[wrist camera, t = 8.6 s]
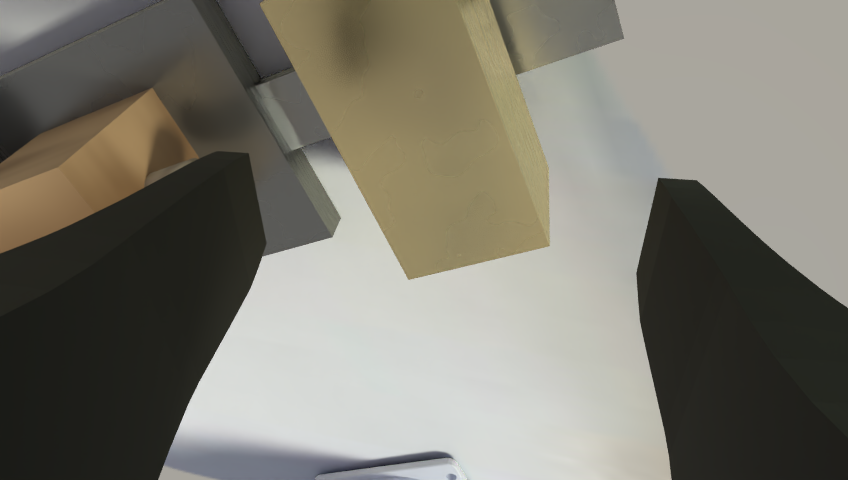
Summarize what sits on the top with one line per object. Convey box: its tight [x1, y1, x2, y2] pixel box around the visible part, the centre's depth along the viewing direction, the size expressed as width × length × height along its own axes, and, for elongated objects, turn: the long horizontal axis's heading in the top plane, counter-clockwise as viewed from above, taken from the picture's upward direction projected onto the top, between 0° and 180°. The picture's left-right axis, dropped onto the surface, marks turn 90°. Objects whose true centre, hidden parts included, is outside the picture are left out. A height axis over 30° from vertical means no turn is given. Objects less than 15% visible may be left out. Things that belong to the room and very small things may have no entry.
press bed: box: [0, 0, 624, 256], centre depth 20 cm, size 9×22×3 cm, turn 113°
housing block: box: [0, 88, 199, 253], centre depth 20 cm, size 5×6×5 cm
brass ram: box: [260, 0, 550, 280], centre depth 17 cm, size 8×4×4 cm, turn 23°
